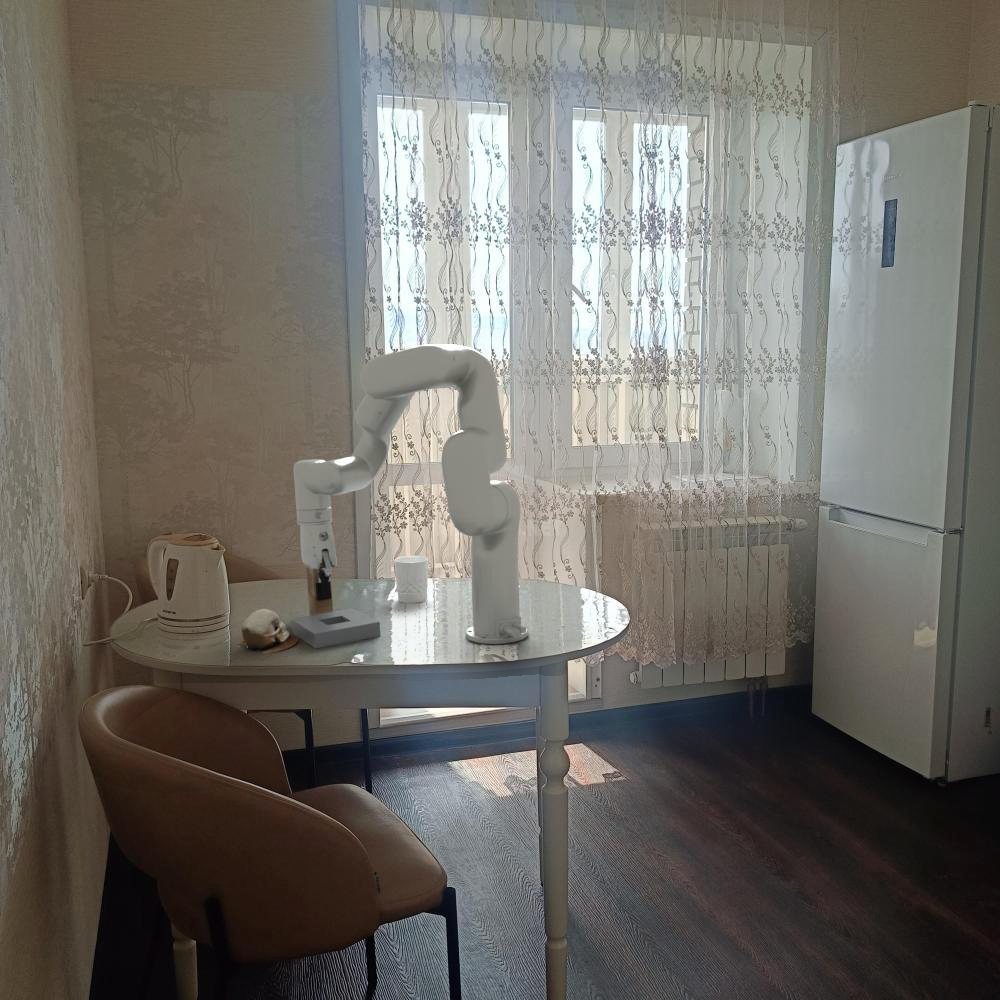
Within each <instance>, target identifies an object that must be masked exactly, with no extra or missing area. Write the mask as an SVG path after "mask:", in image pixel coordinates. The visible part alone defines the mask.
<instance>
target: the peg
mask: <svg viewBox="0 0 1000 1000" xmlns="http://www.w3.org/2000/svg"><path fill="white" fill-rule="evenodd" d="M305 567H306V571H305V572H306V584H307V598H308V609H309V610H308V611H309V616H311V615H317V614H323V613H328V612H334V607H333V606H334V604H333V591H332V590H333V589H332V588H331V599H327V600H321V601H318V600H317V595H316V583H318V582H317V577H316V569H314V568H313V567H311V566H308V565H307V564H306V565H305ZM320 568H324V566H323V565H320ZM322 572H323V571H320V575H321V573H322ZM330 577H331V575H330ZM330 584H331V585H332V580H331V581H330Z"/></svg>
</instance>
